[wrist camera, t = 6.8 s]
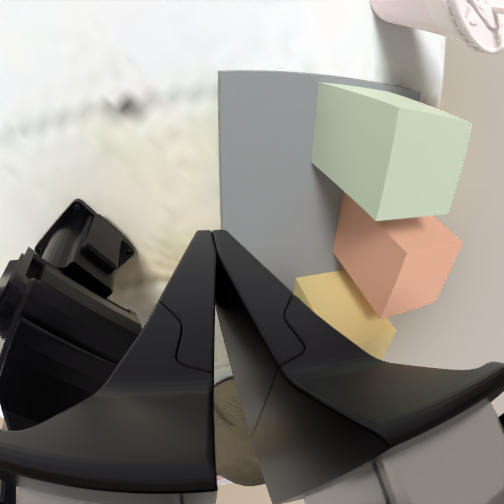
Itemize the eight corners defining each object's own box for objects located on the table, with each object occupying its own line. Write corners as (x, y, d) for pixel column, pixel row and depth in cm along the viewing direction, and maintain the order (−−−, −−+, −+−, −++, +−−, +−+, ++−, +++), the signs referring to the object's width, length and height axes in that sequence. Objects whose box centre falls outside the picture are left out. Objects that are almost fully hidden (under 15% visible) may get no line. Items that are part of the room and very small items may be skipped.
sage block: (310, 162, 22) (375, 221, 15) (318, 81, 18) (398, 107, 11) (376, 161, 23) (447, 214, 16) (387, 91, 19) (472, 123, 13)
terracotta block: (332, 251, 27) (380, 319, 21) (344, 191, 24) (406, 253, 17) (384, 243, 29) (434, 301, 22) (399, 189, 25) (462, 242, 18)
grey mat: (225, 325, 32) (227, 334, 31) (218, 70, 17) (221, 71, 16) (359, 299, 35) (364, 306, 34) (410, 89, 21) (419, 92, 20)
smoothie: (418, 44, 18) (565, 86, 7) (355, 32, 17) (525, 58, 6) (415, -21, 14) (562, -9, 3) (351, -40, 13) (511, -64, 2)
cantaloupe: (189, 410, 42) (207, 500, 30) (188, 360, 34) (211, 483, 22) (276, 399, 46) (305, 480, 34) (299, 348, 38) (344, 451, 26)
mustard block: (289, 320, 32) (318, 388, 25) (295, 277, 28) (334, 350, 22) (339, 309, 33) (374, 370, 26) (351, 268, 29) (396, 331, 23)
